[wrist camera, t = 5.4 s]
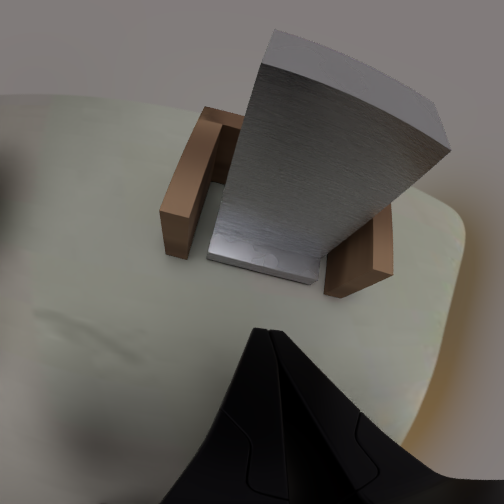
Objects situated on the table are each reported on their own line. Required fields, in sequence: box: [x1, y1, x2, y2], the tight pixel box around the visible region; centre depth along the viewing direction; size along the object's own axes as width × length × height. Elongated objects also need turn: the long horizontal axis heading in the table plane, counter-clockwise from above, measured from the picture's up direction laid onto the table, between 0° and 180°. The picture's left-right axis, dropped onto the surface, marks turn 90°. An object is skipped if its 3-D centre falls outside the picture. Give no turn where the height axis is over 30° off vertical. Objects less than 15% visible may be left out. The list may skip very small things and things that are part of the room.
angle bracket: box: [207, 29, 451, 285], centre depth 12 cm, size 5×6×11 cm
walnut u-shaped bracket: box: [159, 107, 393, 298], centre depth 15 cm, size 6×10×5 cm, turn 79°
